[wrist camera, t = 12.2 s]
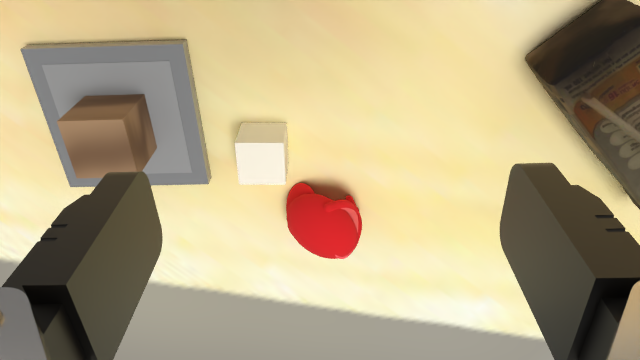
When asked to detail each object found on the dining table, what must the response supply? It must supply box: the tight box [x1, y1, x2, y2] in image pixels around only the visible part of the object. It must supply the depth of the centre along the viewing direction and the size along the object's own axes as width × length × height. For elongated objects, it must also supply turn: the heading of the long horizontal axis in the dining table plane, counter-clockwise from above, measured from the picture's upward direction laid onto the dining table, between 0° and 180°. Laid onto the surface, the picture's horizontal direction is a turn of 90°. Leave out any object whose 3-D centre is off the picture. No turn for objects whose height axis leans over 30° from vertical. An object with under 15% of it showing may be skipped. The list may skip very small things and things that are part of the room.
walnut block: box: [57, 94, 157, 178], centre depth 40 cm, size 5×5×5 cm
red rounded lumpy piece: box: [286, 183, 362, 259], centre depth 45 cm, size 8×6×6 cm
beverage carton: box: [526, 0, 640, 209], centre depth 39 cm, size 8×19×7 cm, turn 44°
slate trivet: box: [21, 40, 211, 187], centre depth 42 cm, size 13×13×1 cm
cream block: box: [235, 122, 289, 184], centre depth 42 cm, size 4×4×4 cm
